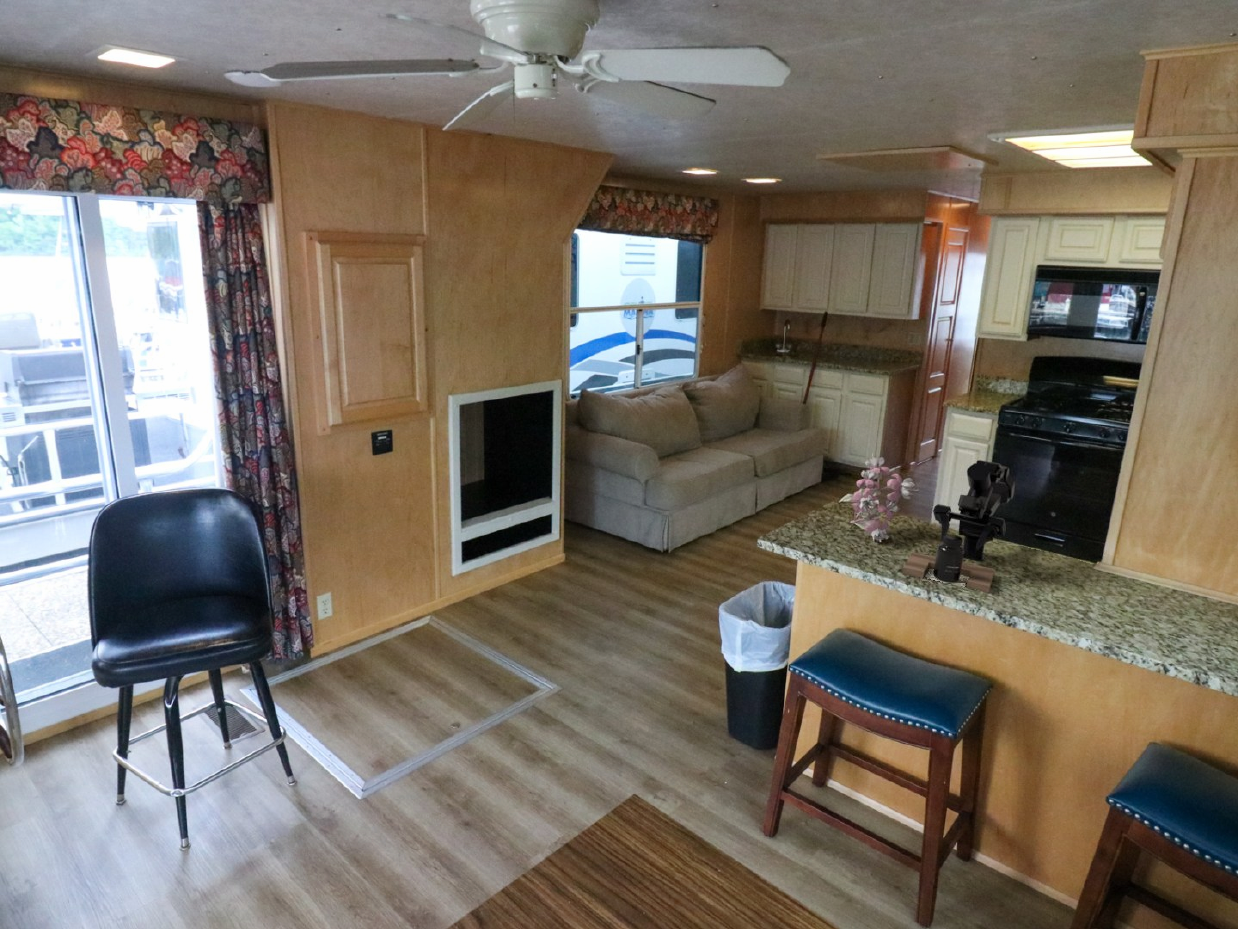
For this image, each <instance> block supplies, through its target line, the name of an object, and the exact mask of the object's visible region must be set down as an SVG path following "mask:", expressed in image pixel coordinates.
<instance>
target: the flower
mask: <svg viewBox="0 0 1238 929" xmlns="http://www.w3.org/2000/svg"><path fill="white" fill-rule="evenodd" d="M873 454H874V452H872V454H871V455H872V458H868V460H866V461H865V466H866V468H869V469H866V470H862V472H861V473H860V475H861V477H863V479H859V480H857V481H856V486H857V488H860V489H859V490H857V491H855V492H853V494H852V493H847V494H845V496H843V497H842V498H841V499H840V500H839V502H838V503H841V502H851V506H852V508H853V510H854V511H853V513H854V514H853V520H851V521H850V524H855V525H856V526H857V527H858V528H860V529H861V530H864V531H865V532H866V533H868V535H869V536H871V537H872V540H873V542H875V540H876V542H878V543H882V540H884V538H885V539H886V540H888V539H889V537H890V536H889V535H888V534H887V533H888V528H889V522H888V521H887V520H889V521H894V519H895V515H894V513H897V512H899V510H901V508H900V507H899V506H898V504H897V503H898V502H900V498H901V496H902V497H903V499H907V500H911V499H912V498H911V497H910V496H909V495H911V496H915V493H914V491H919V490H920V489H919V488H917V489H916V488H915V487H914V486H916V484H914V482H913V481H914V479H912V478H910V477H909V478H905V479H902V477H901V475H900V474H898V473H893V474H891V477H892V478H891V479H889V480H887V482H886V485H887V486H884V487H881V488H880V480H881V479H880V473H881V474H882V476H884V477H887V476H888V475H889V476H890V468H889V467H888V466H883V464H884V463H885V458H884V457H882V456H881V457H880V456H876V457H874V455H873ZM876 479H877V481H875V480H876ZM865 486H866V487H865ZM864 487H865V488H864ZM886 489H891V490H893V492H891V493H888V494H887V495H886V498H887V500H886V501H885V504H880V501H879V500H880V499H879V498H878V497H877V496H880V495H882V492H881V491H883V490H886ZM875 506H877V507H876V508H875ZM870 512H871V513H870ZM881 513H882V514H881ZM883 516H884V518H885V519H884V520H883V521H882V523H881V524H880V520H879V518H881V517H883ZM859 517H861V518H859Z"/></svg>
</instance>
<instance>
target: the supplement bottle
mask: <svg viewBox="0 0 1238 929" xmlns="http://www.w3.org/2000/svg"><path fill="white" fill-rule="evenodd" d="M963 541H964V538H963V537H961V536H960V535H956V534H951V533H947V534H946V535H944V537H943V541H942V540H941V542H942V543H940V544H939V545H938V546H937V549H936V552H935V553H936V555H935V557H936V559H935V565H934V570H933V576H934V577H935V578H936V579H938V580H941V581H945V582H957V581H958V580H959V578H960V573H961V568H962V562H963V561H964V550H963ZM963 563H964V562H963Z"/></svg>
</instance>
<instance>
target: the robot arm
mask: <svg viewBox="0 0 1238 929" xmlns="http://www.w3.org/2000/svg"><path fill="white" fill-rule="evenodd" d="M966 473H967V474H966V475H967V483H968V487H969V489H968V492H967V494H960V496H959V499H958V503H957V507H958V511H959V512H955V511H952V509H951V508H952V507H951V506H948V505H945V504H941V503H938V504H936V505H934V508H933V510H932V512H933V515H934V519H935V521H937V522H938V524H939V525H940V526H941V537H940V538H941V542H942V541H943V537H944V535H946V534H948V532H949V528H950V522H951V521H952V520H954V521H955V520H957V521H959V525H958V536H963V542H962V548H963V550H964V557H963V559H964V558H965V559H970V560H975V561H979V562H984V560H985V556H986V554H985V552H984V551H985V547H986V543H987V542H988V543H989V542H992V541H994V538H998V537H999V536H1000V537H1004V536H1005V533H1006V531H1007V526H1006V520H1005V519H1004V517H998V516H994V514H995V512H996V510H997V509H998V507H999V506H1000V505H1004V504H1005V505H1006V504H1007V503H1009V502H1010V500H1012V499H1013V497H1014V494H1015V488H1016V487H1015V485H1016V481H1015V479H1013V477H1012V476H1011V474H1010V468H1009V467H1008V466H1004V465H1002V464H1001V463H998V462H992V461H986V460H980V459H978V460H977V461H976V462H975V463H974V462H973V464H972V465H969V467H968V468H967V470H966ZM1000 480H1003V481H1004V482H1002V481H1000Z"/></svg>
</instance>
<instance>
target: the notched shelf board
mask: <svg viewBox="0 0 1238 929" xmlns="http://www.w3.org/2000/svg"><path fill="white" fill-rule="evenodd" d="M935 559H936V556H931V555H929V554H924V553H918V552H914V551H912V552H911V553H910V555H909V557H908V558H907V560H906V562H905V563H904V565H903V567H902V573H901V574H902V575H905V576H909V577H915V578H918V577H920V578H919V579H924V578H925V577H930V579H931V580H930V581H933V580H935V581H934V582H937V581H940V582H939V583H942V582H943V583H944V584H946V583H967V584H965V586H966V587H965V586H964V584H963V585H960V586H963V587H962V588H964V587H965V588H966V589H968V590H972V589H976V590H975V591H977V590H979V591H978V592H981V591H982V593H985V594H986V593H987V594H989V593H990V590H991V586H992V583H993V580H994V576H995V571H996V570H995V568H992V567H986V566H982V565H977V564H971V563H967V562H962V568H961V573H960V577H969V578H968V580H967V579H965V578H963V581H961V580H960V579H959V580H958V581H957V582H945V581H941V580H937V579H935V578H931V577H934V576H933V572H932V573H931V572H930V574H929V573H927V572H928V570H933V569H934V565H935ZM928 568H930V569H928ZM926 571H927V572H926ZM925 573H926V574H925ZM924 575H925V576H924ZM961 575H963V576H961ZM923 577H924V578H923ZM928 579H929V578H927V579H926V580H928ZM960 586H959V587H960Z"/></svg>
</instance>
